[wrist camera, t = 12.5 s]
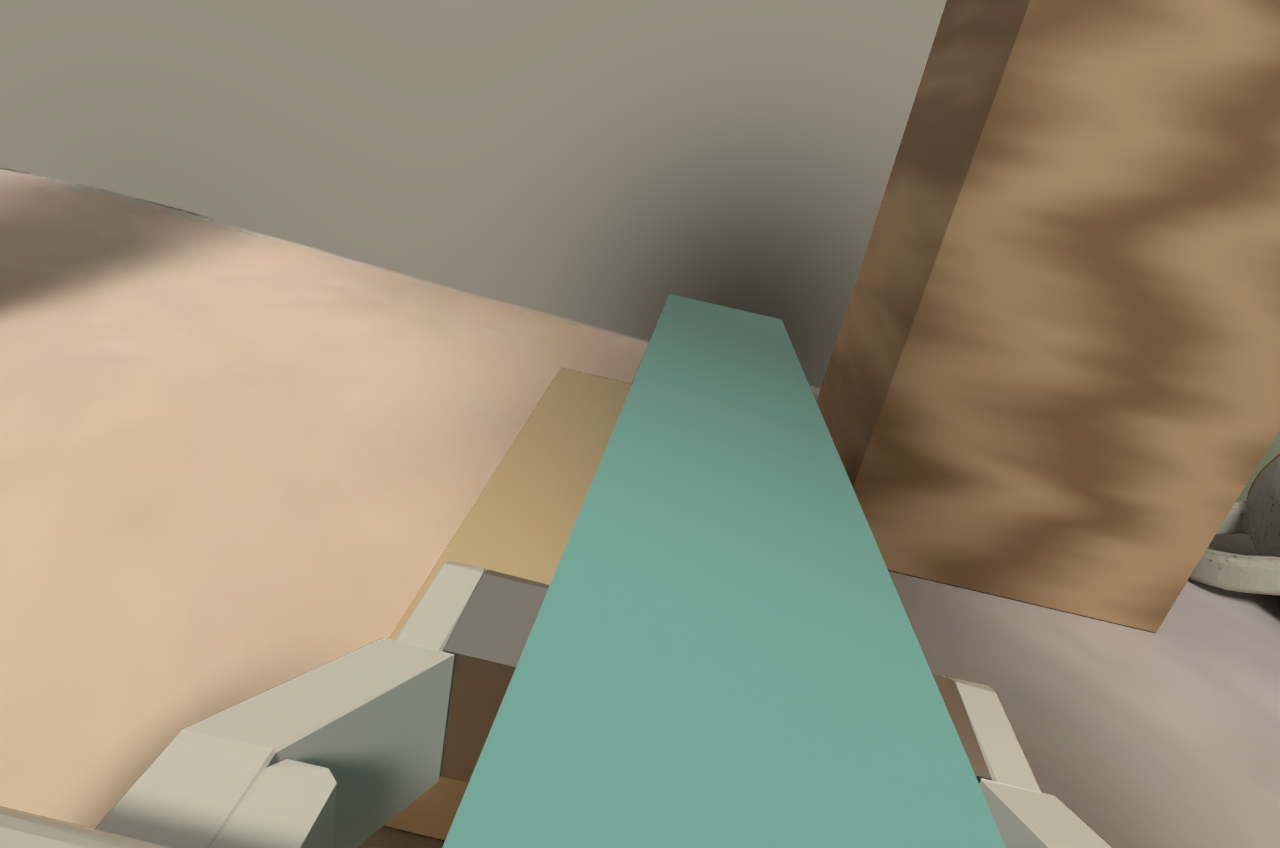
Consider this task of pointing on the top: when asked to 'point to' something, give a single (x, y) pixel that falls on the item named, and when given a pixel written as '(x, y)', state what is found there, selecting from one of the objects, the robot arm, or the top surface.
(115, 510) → the top surface
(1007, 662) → the top surface
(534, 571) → the kraft parcel
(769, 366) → the teal carton
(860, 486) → the walnut stand
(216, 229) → the top surface
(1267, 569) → the ceramic mug
